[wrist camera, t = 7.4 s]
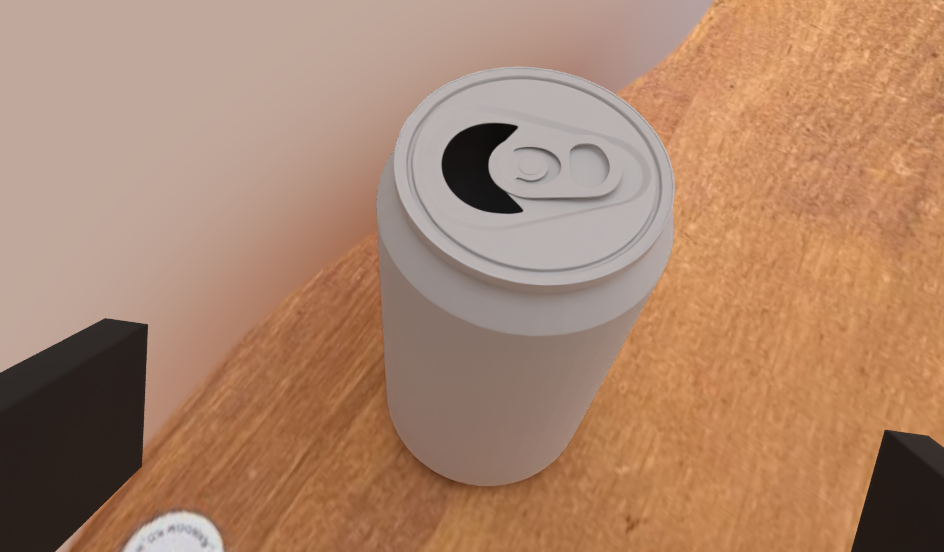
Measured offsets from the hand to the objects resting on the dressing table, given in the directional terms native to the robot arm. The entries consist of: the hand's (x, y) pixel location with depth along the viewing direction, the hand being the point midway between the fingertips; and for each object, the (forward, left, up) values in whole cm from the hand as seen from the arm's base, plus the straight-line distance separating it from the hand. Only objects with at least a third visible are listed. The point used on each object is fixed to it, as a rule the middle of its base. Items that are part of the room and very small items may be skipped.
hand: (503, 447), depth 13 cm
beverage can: (0, +5, -11) cm, 12 cm away
